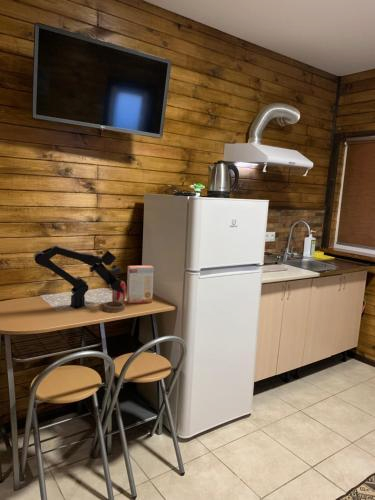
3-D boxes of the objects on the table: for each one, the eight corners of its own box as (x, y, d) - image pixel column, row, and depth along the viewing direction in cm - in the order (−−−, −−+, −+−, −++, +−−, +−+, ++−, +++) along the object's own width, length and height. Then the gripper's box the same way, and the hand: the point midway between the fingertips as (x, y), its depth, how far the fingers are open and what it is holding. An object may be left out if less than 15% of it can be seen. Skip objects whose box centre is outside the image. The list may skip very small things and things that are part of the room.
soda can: (109, 302, 214) (110, 281, 212) (118, 299, 220) (119, 279, 218) (118, 305, 210) (119, 283, 208) (127, 302, 216) (128, 281, 214)
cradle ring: (113, 313, 197) (113, 308, 197) (99, 308, 204) (99, 303, 203) (128, 309, 206) (129, 304, 205) (115, 304, 212) (115, 300, 212)
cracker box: (149, 299, 226) (151, 265, 223) (152, 302, 221) (154, 267, 218) (126, 300, 221) (127, 265, 218) (128, 303, 216) (129, 267, 213)
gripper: (118, 264, 201) (137, 284, 208) (109, 258, 218) (126, 276, 224) (102, 279, 199) (122, 299, 205) (94, 272, 215) (112, 290, 222)
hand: (121, 290), depth 214 cm, fingers closed on soda can, 7 cm apart
